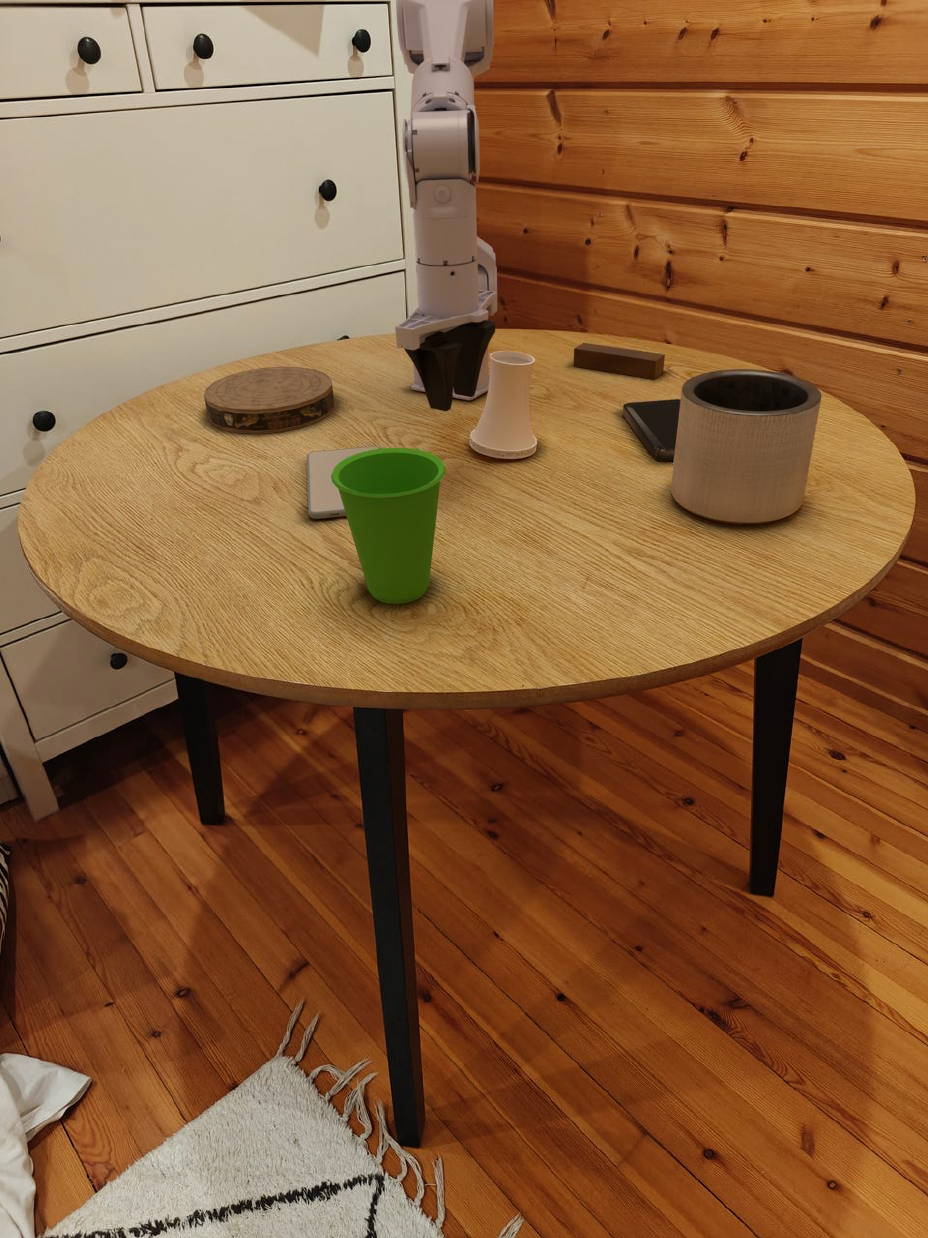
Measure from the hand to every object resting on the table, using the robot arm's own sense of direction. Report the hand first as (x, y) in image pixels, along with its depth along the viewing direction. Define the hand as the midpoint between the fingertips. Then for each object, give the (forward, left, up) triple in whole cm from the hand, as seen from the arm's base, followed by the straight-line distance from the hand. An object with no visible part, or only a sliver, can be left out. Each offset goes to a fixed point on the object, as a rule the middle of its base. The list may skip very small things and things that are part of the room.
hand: (452, 401), depth 91 cm
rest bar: (0, +40, -8) cm, 41 cm away
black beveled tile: (+15, +22, -8) cm, 28 cm away
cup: (+8, -21, -9) cm, 24 cm away
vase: (0, +9, -8) cm, 12 cm away
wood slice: (-32, +6, -9) cm, 34 cm away
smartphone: (-9, -7, -8) cm, 14 cm away
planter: (+27, +9, -9) cm, 30 cm away
